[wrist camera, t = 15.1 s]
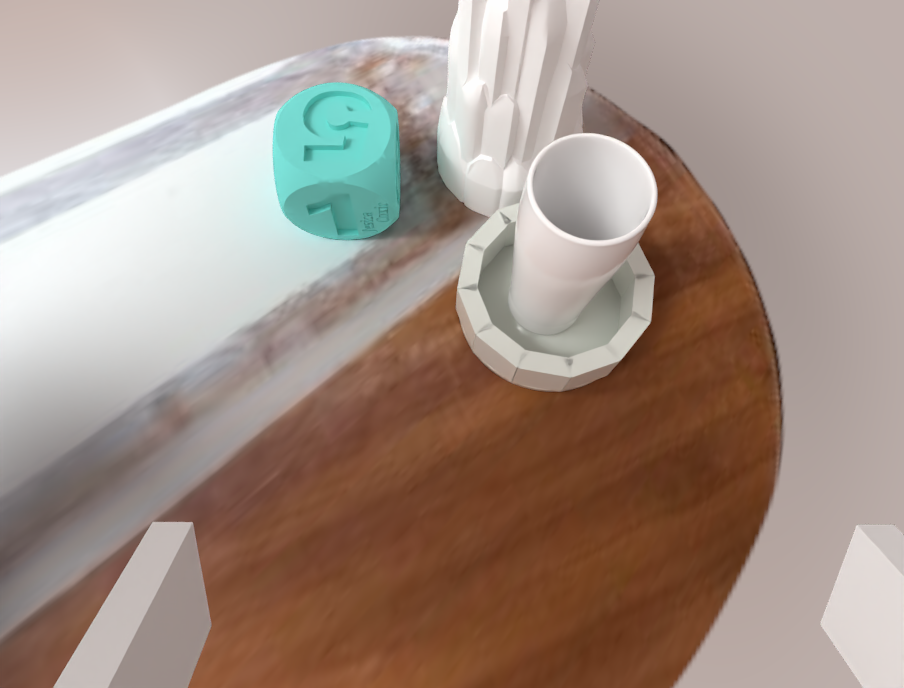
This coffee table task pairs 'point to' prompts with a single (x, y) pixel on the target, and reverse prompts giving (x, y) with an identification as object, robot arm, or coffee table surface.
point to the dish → (547, 356)
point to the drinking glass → (576, 227)
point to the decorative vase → (510, 93)
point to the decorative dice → (338, 161)
